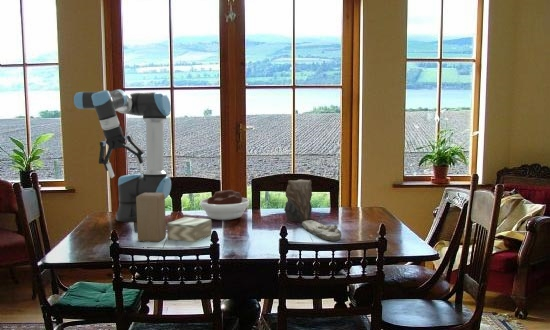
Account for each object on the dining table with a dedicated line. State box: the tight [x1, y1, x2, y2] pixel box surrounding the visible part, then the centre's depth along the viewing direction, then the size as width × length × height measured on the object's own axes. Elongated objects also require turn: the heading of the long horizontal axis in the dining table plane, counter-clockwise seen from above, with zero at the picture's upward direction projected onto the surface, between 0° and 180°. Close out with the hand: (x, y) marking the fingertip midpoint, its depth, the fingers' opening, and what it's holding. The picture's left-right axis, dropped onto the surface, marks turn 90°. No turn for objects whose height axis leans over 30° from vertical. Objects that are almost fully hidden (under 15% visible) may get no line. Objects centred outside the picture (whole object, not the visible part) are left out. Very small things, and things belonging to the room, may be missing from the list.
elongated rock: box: [301, 219, 343, 242], centre depth 247 cm, size 35×5×10 cm
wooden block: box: [136, 193, 167, 243], centre depth 237 cm, size 10×10×20 cm
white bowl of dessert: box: [199, 189, 250, 221], centre depth 280 cm, size 25×25×15 cm
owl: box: [283, 178, 313, 223], centre depth 277 cm, size 13×13×20 cm
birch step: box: [166, 216, 213, 243], centre depth 242 cm, size 14×14×7 cm
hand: (127, 174), depth 236 cm, fingers open, 13 cm apart
